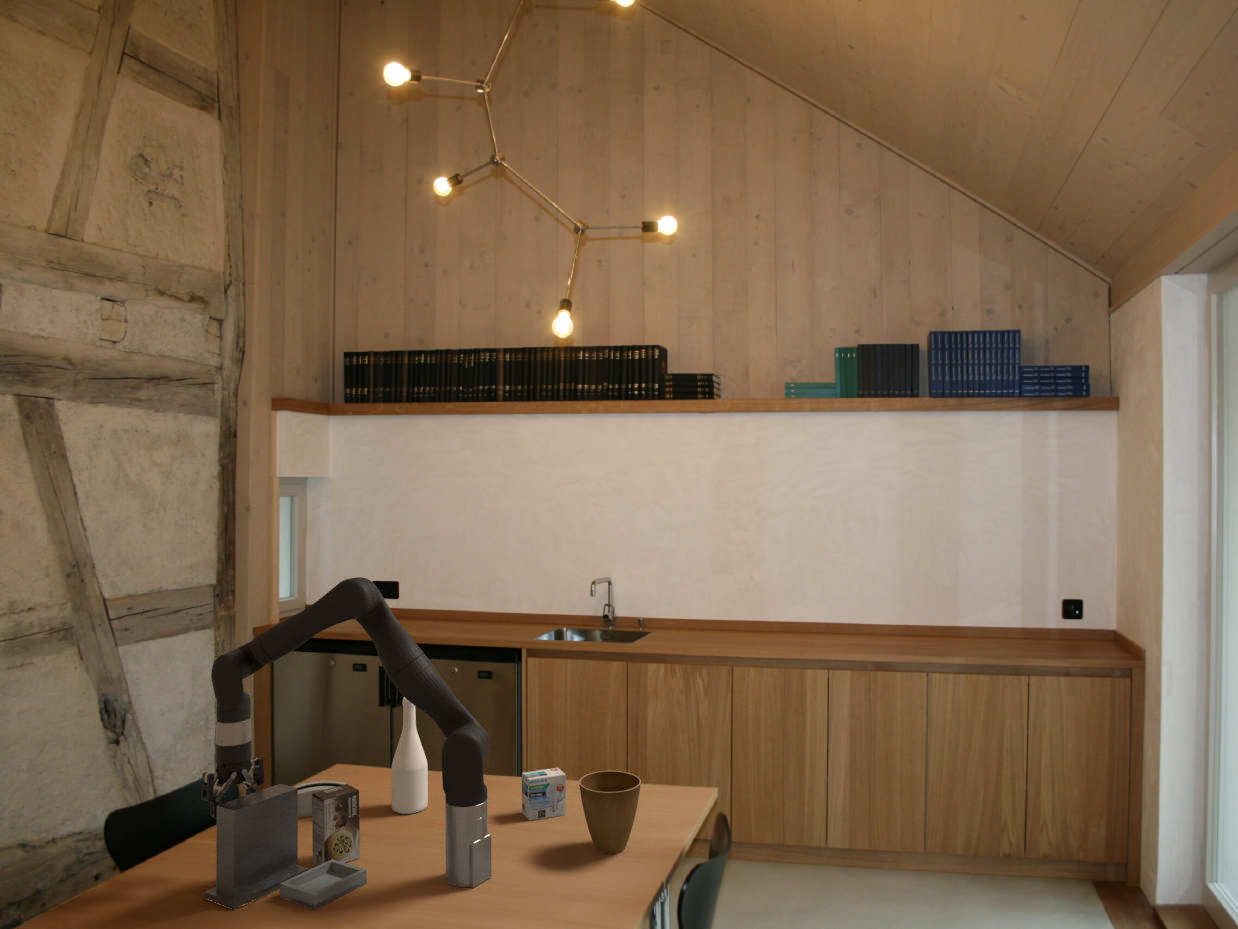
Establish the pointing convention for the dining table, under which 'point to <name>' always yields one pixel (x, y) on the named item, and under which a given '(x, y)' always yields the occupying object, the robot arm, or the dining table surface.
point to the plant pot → (610, 807)
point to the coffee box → (336, 824)
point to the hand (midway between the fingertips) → (233, 811)
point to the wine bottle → (409, 767)
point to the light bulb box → (543, 793)
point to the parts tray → (323, 884)
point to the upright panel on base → (256, 845)
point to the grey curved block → (306, 794)
